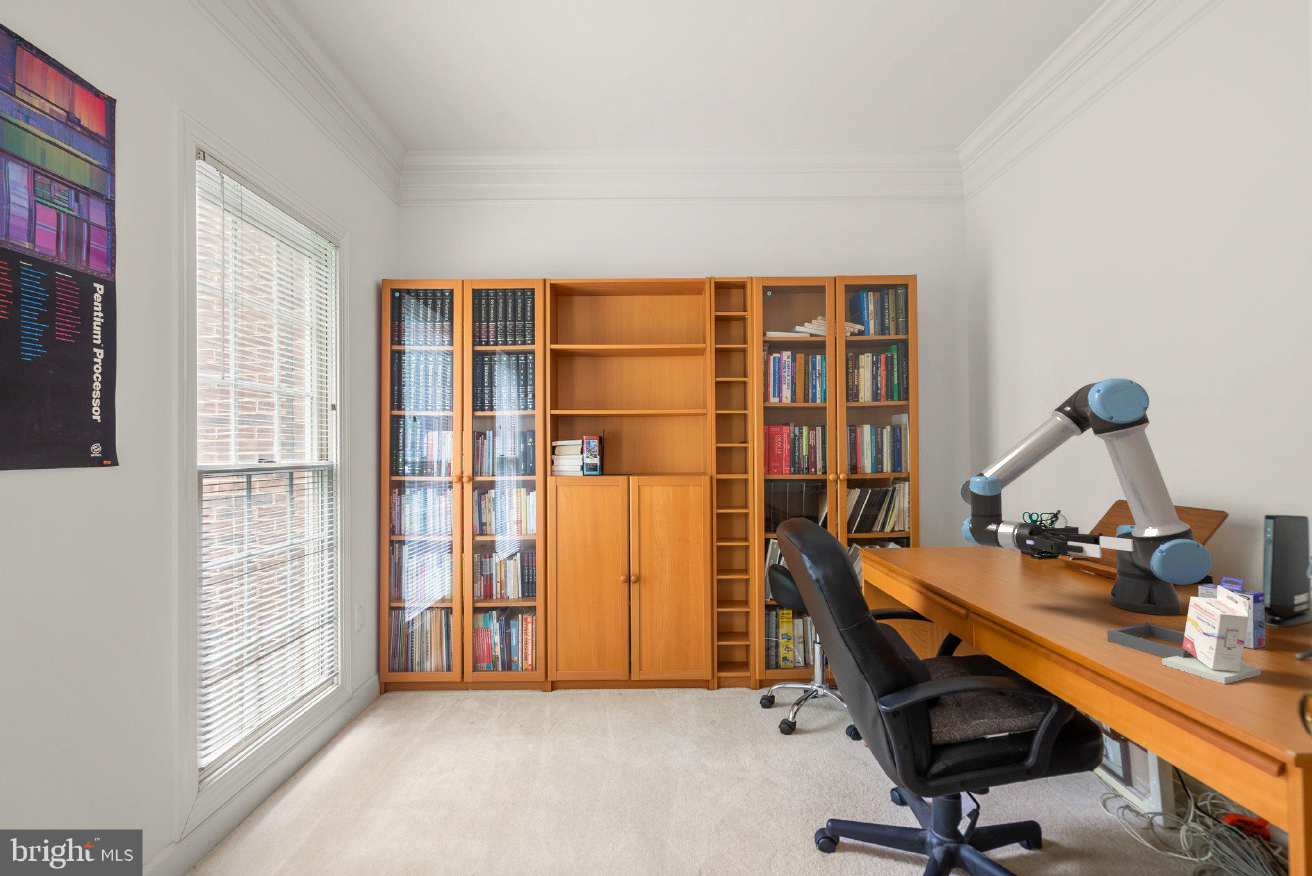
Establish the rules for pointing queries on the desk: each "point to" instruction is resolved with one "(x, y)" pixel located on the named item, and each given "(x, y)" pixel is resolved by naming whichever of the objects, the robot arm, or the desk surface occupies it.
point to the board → (1203, 670)
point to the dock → (1132, 639)
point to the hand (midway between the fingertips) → (1117, 548)
